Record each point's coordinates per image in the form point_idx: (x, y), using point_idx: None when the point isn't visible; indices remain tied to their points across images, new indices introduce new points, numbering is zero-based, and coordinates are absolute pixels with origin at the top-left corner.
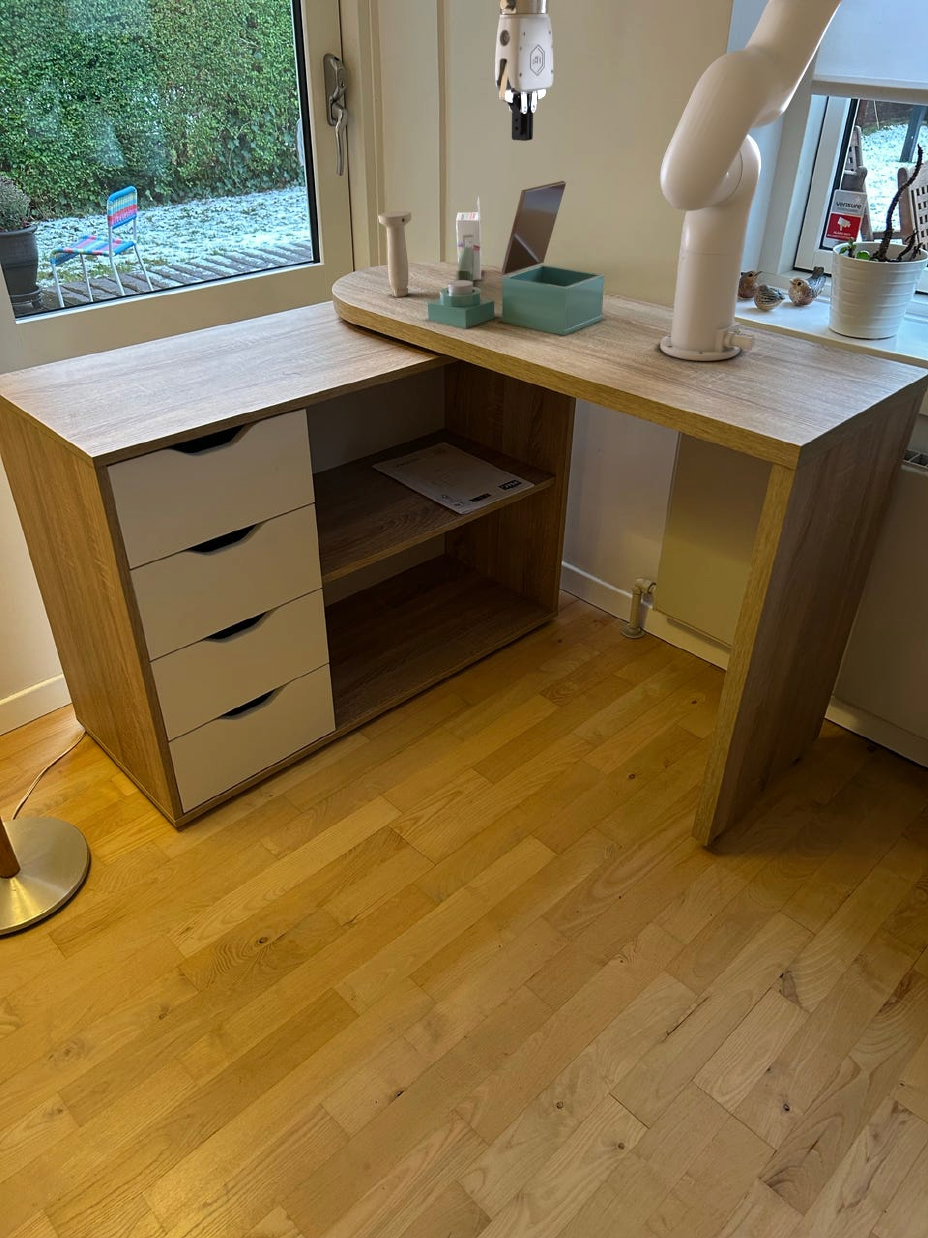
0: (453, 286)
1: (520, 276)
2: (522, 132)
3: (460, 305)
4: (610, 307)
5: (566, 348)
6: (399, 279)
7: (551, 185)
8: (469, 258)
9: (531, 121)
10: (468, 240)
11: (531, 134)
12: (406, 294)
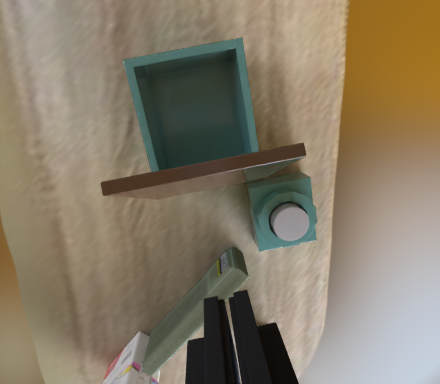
0: (308, 218)
1: None
2: (259, 326)
3: (304, 194)
4: (84, 111)
5: (272, 5)
6: None
7: (174, 169)
8: (188, 323)
9: (219, 352)
10: (143, 381)
11: (213, 306)
12: None
